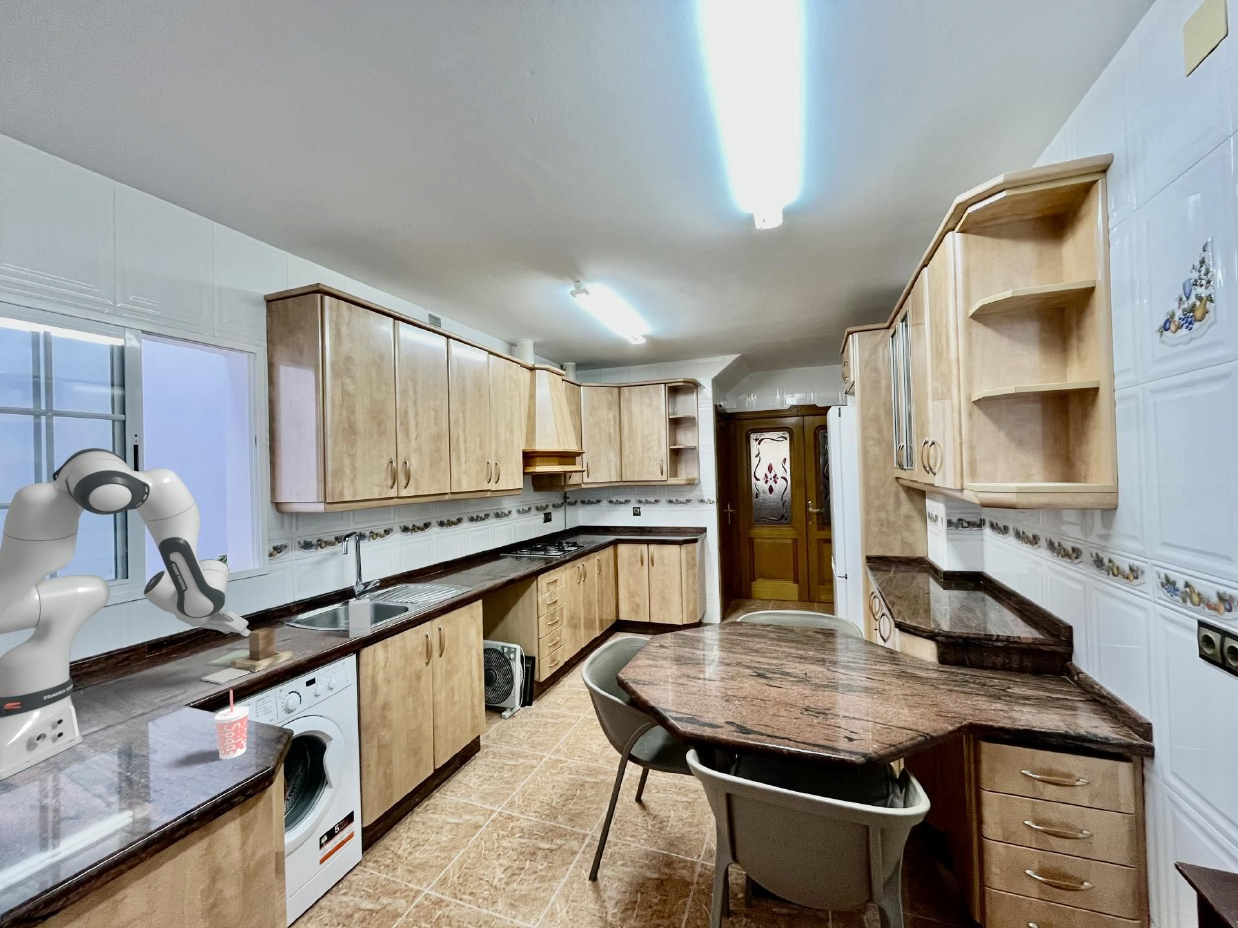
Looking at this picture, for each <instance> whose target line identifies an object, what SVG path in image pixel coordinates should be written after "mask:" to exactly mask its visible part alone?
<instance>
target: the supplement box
mask: <svg viewBox="0 0 1238 928" xmlns="http://www.w3.org/2000/svg"><path fill="white" fill-rule="evenodd" d="M348 635H349V636H348V638H349V639H352V638H358V637H363V636H364V637H365V636H370V635H371V600H370V598H364V599H363V598H362V599H357V600H356V599H355V600H350V601H348Z"/></svg>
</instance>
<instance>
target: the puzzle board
mask: <svg viewBox="0 0 1238 928" xmlns="http://www.w3.org/2000/svg"><path fill="white" fill-rule="evenodd" d="M290 658H293V659H294V651H292V650H286V649H279V648H275V655H274V656H272V657H269V658H266V659H263V660H261V661H253V660H250V655H248V656H245V657H242V658H239V659H236V660H233V661H231V665H230V667H228V668H225V669H223V670H221V671H218V672H217V671H216V672H214V673H211V674H209V675H206V676H203V677H201V678H200V680H201V679H202V680H205V681H214V682H219V683H223V682H225V681H228V680H229V679H233V678H237V677H238V676H243V675H245V674H248V673H250V674H251V673H253V672H257V671H258V670H262V669H265V670H267V669H266V668H267V667H270V668H272V667H271V666H273V665H275V664H276V663H280V662H282V661H284V660H287V659H290ZM275 666H276V665H275ZM273 667H274V666H273ZM245 670H246V671H245ZM250 671H252V672H250ZM262 671H263V670H262ZM257 673H258V672H257ZM243 677H244V676H243Z"/></svg>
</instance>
